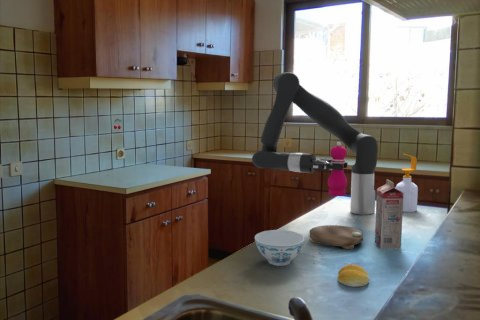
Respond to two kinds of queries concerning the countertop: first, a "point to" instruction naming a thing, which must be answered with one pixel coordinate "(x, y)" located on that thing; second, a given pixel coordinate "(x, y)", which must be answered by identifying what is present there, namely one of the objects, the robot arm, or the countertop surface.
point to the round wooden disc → (336, 236)
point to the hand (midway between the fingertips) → (345, 166)
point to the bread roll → (353, 276)
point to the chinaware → (279, 245)
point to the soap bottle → (409, 188)
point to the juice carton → (388, 217)
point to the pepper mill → (337, 172)
